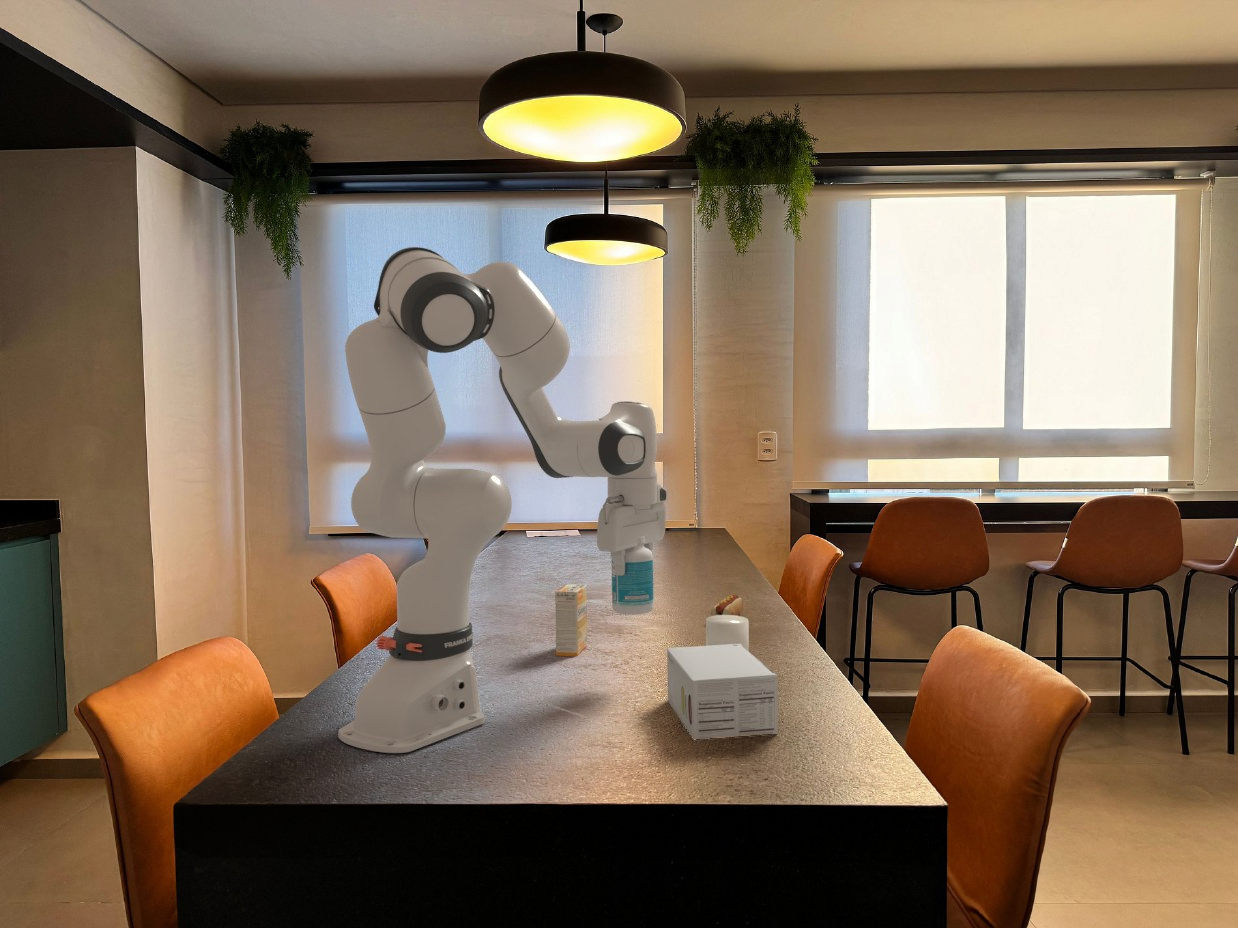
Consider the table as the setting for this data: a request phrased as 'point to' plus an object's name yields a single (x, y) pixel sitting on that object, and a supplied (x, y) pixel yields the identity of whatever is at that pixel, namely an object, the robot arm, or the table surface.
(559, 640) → the supplement box
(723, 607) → the food
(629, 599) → the pill bottle
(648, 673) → the table surface
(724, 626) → the white rounded cylinder
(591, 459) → the robot arm
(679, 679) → the supplement box
